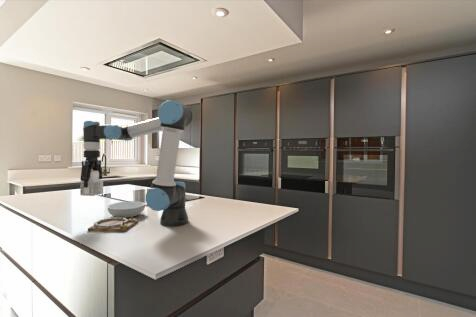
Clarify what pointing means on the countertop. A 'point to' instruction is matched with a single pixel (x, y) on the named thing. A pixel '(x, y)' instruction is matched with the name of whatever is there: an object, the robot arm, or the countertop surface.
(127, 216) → the serving bowl
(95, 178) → the container
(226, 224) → the countertop surface
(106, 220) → the gear board
